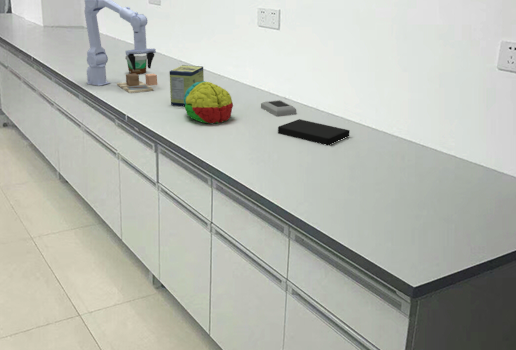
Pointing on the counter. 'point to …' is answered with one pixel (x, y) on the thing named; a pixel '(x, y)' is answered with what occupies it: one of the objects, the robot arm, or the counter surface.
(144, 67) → the food container
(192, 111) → the brain model
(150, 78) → the terracotta block
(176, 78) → the protein box
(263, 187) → the counter surface
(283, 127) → the black microchip
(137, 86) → the baseplate
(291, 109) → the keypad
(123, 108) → the counter surface
